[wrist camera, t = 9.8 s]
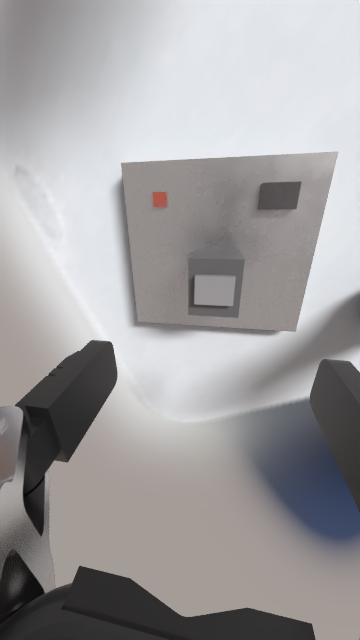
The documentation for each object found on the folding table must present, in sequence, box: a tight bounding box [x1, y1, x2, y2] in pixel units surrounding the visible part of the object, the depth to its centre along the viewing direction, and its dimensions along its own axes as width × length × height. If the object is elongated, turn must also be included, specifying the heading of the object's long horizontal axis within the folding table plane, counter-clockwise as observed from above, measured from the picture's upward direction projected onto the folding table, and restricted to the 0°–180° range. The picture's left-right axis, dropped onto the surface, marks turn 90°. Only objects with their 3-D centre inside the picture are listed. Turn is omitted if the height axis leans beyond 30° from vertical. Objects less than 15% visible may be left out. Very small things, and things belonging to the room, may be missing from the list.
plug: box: [188, 250, 245, 318], centre depth 21 cm, size 5×4×8 cm
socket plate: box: [121, 152, 338, 332], centre depth 23 cm, size 16×18×3 cm
